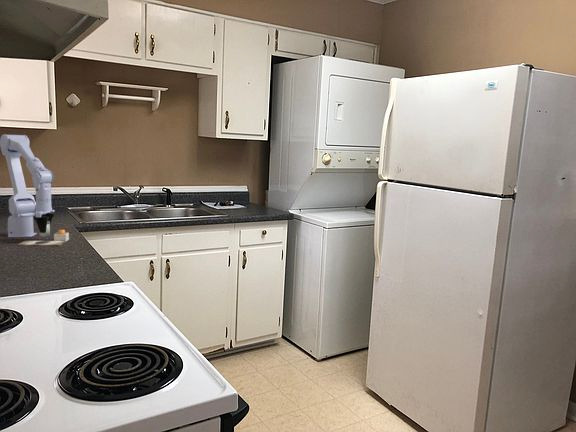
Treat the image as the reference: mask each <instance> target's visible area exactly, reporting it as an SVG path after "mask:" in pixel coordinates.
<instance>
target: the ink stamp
mask: <svg viewBox="0 0 576 432" xmlns="http://www.w3.org/2000/svg"><path fill="white" fill-rule="evenodd" d="M38 232H39V237H50V236H51V225H50V221H48V222H47V228H46V233H40V231H38Z"/></svg>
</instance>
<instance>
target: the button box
mask: <svg viewBox="0 0 576 432" xmlns="http://www.w3.org/2000/svg"><path fill="white" fill-rule="evenodd" d="M53 241H66V242H68V241H70V233H69V232H65V234H58V232H55V233H54V234H53Z"/></svg>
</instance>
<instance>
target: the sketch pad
mask: <svg viewBox="0 0 576 432" xmlns="http://www.w3.org/2000/svg"><path fill="white" fill-rule="evenodd" d="M66 242H67V241H54V240H23V241H21V242H20V243H18V244H17V247H19V246H20V247H21V246H22V247H24V246H25V247H26V246H27V247H38V246H39V247H61V246H62V245H64V244H65V243H66Z"/></svg>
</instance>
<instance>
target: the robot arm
mask: <svg viewBox="0 0 576 432" xmlns="http://www.w3.org/2000/svg"><path fill="white" fill-rule="evenodd" d="M0 150H1V154H2V156H4V157H5V160H6V164H7V165H6V166H7V169H8V174H9V178H10V183H11V186H12V191H13V194H12V196H10V198H9V199H8V211H9V213H10V215H9V216H8V219H7V237H8V238H32V237H34V236H35V235H37V234H38V232H39V231H40V233H46V228H47V222H48V221H50V226H51V225H52V221H53V219H54V216H55V212H56V211H55V209H53V207H52V184H53V183H54V178H55V177H54V174H53V171H52V170H50V169H49V168H46V167H45V166H44V164H43V163H42V161H41V160H40V159H39V157H35V155H34V153H33V151H32V149H31V147H30V138H29V137H28V136H27V135H26V134H22V135H21V134H6V133H5V134H1V136H0ZM20 157H23V159H24V160H25V161H26V162H25V166H26V168H27V169H28V171H29V172H30V174H31V175H32V177H31V181H32V183H33V188H34V189H35V197H34V196H33V195H32V194H31V193H29V192H28V190H27V185H26V182H25V177H24V173H23V169H22V168H23V167H22V164H21V160H20ZM34 220H35V222H36V224H37V228H38V230H39V231H38V232H34V230H35V229H34Z"/></svg>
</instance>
